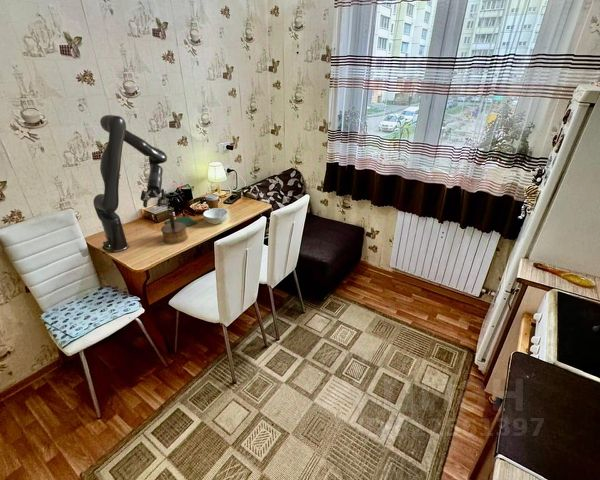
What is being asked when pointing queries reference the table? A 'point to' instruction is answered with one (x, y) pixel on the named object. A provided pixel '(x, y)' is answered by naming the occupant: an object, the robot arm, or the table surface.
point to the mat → (184, 221)
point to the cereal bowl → (215, 215)
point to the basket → (175, 237)
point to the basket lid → (173, 226)
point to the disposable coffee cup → (212, 200)
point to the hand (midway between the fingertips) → (151, 206)
